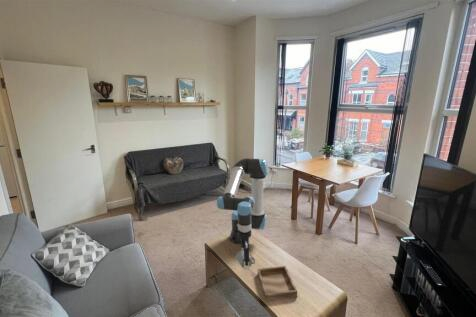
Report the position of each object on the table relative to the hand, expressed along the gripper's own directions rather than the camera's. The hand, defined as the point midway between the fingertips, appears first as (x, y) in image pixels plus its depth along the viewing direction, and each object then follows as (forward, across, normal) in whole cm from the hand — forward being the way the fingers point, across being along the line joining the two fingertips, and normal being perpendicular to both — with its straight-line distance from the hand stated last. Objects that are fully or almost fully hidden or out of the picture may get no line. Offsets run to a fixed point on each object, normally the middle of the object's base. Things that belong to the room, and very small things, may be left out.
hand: (245, 262), depth 135 cm
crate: (+14, +4, +18) cm, 23 cm away
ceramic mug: (+1, -1, +1) cm, 2 cm away
